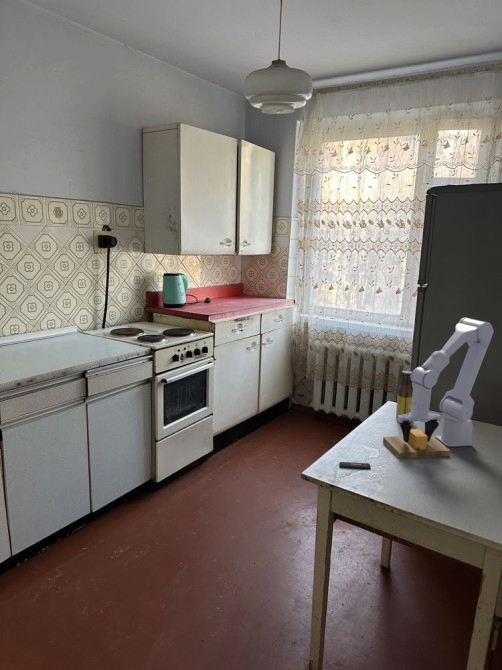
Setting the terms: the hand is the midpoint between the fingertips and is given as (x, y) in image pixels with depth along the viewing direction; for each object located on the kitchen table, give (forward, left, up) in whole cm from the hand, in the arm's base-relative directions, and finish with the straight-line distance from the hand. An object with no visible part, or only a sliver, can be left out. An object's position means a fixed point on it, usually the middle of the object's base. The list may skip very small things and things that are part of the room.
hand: (416, 440), depth 156 cm
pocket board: (0, 0, -3) cm, 3 cm away
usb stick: (+26, +10, -4) cm, 27 cm away
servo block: (0, 0, -3) cm, 3 cm away
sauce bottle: (-8, -24, -3) cm, 25 cm away
